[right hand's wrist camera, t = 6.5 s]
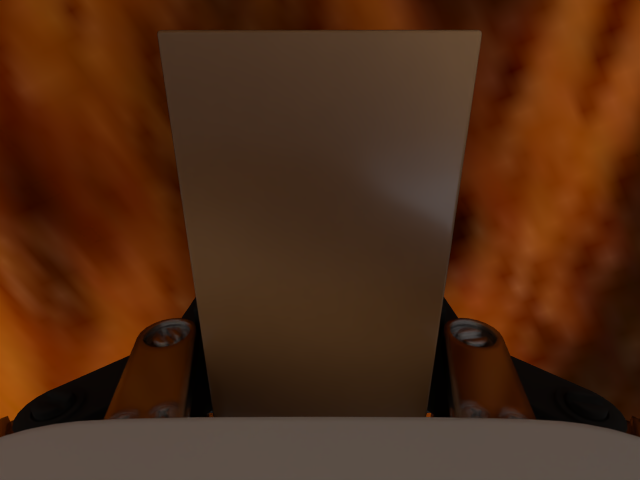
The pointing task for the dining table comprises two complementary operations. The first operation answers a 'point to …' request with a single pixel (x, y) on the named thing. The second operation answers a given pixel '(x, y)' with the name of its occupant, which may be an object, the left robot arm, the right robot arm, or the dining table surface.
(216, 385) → the beam
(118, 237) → the dining table surface
